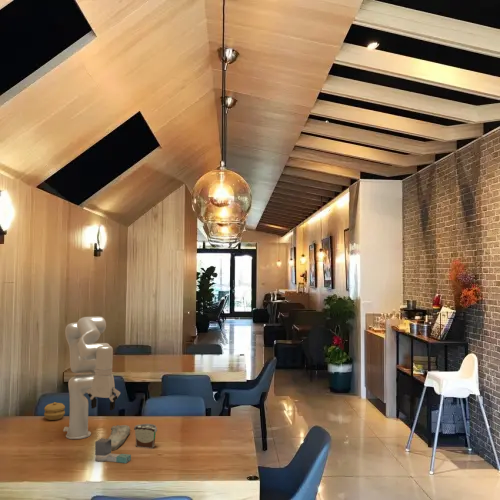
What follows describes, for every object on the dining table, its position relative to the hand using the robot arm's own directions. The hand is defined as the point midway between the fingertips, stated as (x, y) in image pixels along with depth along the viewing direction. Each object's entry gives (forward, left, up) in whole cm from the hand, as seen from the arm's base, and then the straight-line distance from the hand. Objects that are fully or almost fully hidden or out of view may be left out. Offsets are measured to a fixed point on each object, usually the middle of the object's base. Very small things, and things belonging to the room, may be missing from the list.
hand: (102, 408), depth 238 cm
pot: (-63, +51, -23) cm, 84 cm away
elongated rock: (-7, +25, -23) cm, 35 cm away
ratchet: (+7, -2, -22) cm, 23 cm away
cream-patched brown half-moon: (+13, +21, -22) cm, 33 cm away
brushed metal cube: (+2, -2, -20) cm, 20 cm away
